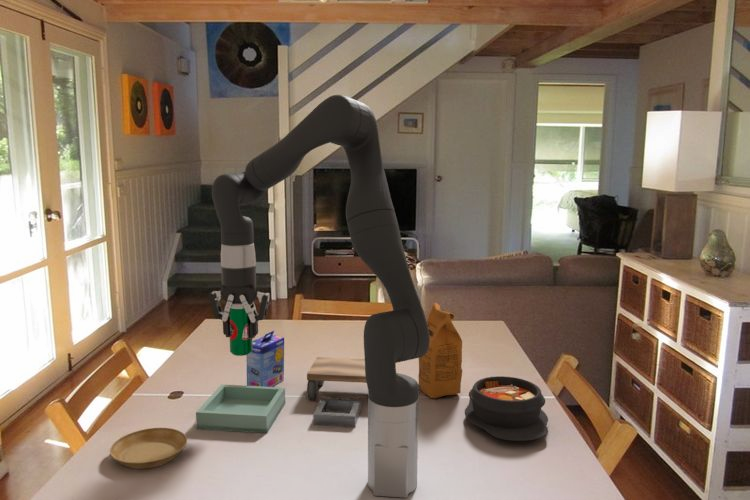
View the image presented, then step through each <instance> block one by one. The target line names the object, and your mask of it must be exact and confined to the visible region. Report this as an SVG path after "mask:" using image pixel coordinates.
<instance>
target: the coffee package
mask: <svg viewBox="0 0 750 500" xmlns="http://www.w3.org/2000/svg"><path fill="white" fill-rule="evenodd" d="M453 319H455V315H454V313H452V312H448V311H443V310H441V306H440V304H438V302H434V303H433V304H432V307H431V309H430V311H429V313H428V316H427V318H426V321H427V325H428V329H429V337H430V343H429V348H428V351H427V353H426V354H425V355H424V356H422V357H419V358H418V386H420V387H419V388H420V389H421V391H422V393H423V394H424V395H426V396H428V397H429V398H430V399H437V398H441V397H444V396H455V395H459V394H461V393H462V392H461V390H462V389H461V386H462V377H463V367H462V362H463V339H462V337H461V335H460V333H459V332H458V330H457V329H456V327H455V326H454V324H453V322H452V320H453Z"/></svg>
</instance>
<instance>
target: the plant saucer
mask: <svg viewBox="0 0 750 500" xmlns="http://www.w3.org/2000/svg"><path fill="white" fill-rule="evenodd" d="M187 442H188V438H187V436H186V434H185V433H184V432H182V431H181V430H179V429H175V428H171V427H151V428H149V427H148V428H144V429H139V430H136V431H132V432H130V433H127V434H125V435H123V436H121V437H120V438H118V439H117V440H115V441H114V442H113V443H112V445H110V449H109V453H110V456H111V457H112V458H113V459H114V460H115V461H116V462H118V463H119V464H121V465H123V466H125V467H127V468H130V469H136V470H140V469H141V470H143V469H144V470H145V469H151V468H156V467H160V466H163V465H165V464H168V463H169V462H171V461H172V460H173V459H175V458H176V457H177V456H178V455H179V454H180V453H181V452H182V451H183V450H184V448H185V446H186V445H187Z"/></svg>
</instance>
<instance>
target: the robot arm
mask: <svg viewBox="0 0 750 500" xmlns="http://www.w3.org/2000/svg"><path fill="white" fill-rule="evenodd" d="M326 144H334V145H337V146H341V147H343V150H344V152H345V155H346V157H347V162H348V166H349V169H350V185H349V190H348V193H347V199H346V205H345V218H346V224H347V229H348V233H349V237H350V240H351V245H352V247H353V249H354V251H355V252H356V254H357V256H358V257H359V258H360V259H361V261H363V263H364V264H365V265H366V266H367V267H368V269H370V271H371V272H372V273H373V274H374V275H375V276H376V277H377V279H378V280H379V281H380V282H381V283H382V285H383V287H384V289H385V290H386V292H387V293H386V294H387V295H388V298H389V301H390V304H391V306H392V310H389V311H383V312H382V311H381V312H376V313H372V314H371V315H370V316H368V318H367V319H366V321H365V324H364V329H363V351H364V353H363V354H364V359H365V376H366V382H367V383H366V386H367V392H368V393H367V395H368V396H367V399H368V400H367V401H368V402H367V408H368V409H367V486H368V487H369V489H371V491H372V492H373V496H376V497H377V496H378V497H389V498H390V497H391V498H403V499H404V498H405V499H406V498H408V497H409V495H410V494H411V493H413V492H414V491H415V490H416V488H417V486H418V459H419V457H418V455H419V451H418V447H419V402H420V399H419V397H420V396H419V395H420V387H419V386H420V385H419V382H418V381H417V380H416V379H415V378H414V377H411V376H409V375H407V374H403V373H399V372H397V368H396V363H401V362H405V361H410V360H416V359H419V357H422V356H424V355H425V354H426V353H427V351H428V348H429V343H430V337H429V329H428V325H427V318H426V315H425V312H424V309H423V306H422V303H421V300H420V297H419V295H418V293H417V292H418V291H417V289H416V286H415V284H414V281H413V278H412V274H411V271H410V268H409V264H408V261H407V257H406V252H405V249H404V245H403V241H402V235H401V232H400V226H399V223H398V218H397V216H396V212H395V211H396V210H395V207H394V205H393V201H392V198H391V197H392V196H391V192H390V189H389V184H388V181H387V177H386V171H385V169H384V164H383V163H384V162H383V157H382V152H381V143H380V135H379V129H378V124H377V118H376V116H375V114H374V111H373V110H372V109H371V108H370V107H369V105H366V104H365V103H363V102H361V101H359V100H356V99H354V98H352V97H349V96H347V95H343V94H335V95H334V94H333V95H331V96H329V97H327V98H326V99H324V100H323V101H321V102H320V103H319V104H317V106H316V107H314V108H313V109H312V110H311V111H310V113H308V114H307V115H306V116H305V117H304V118H303V119H302V120H301V121H300V122H299V123H298V124H297V125H296V126H295V127H294V128H293V129H292V130H290V132H288V133H287V134H286V135H285V136H284V137H283V138H281V139H280V140H279V141H277V143H274V145H272V146H271V147H269V148H268V149H266V150H264V151H263V152H261V153H260V154H258V155H256V157H254V158H252V159H251V160H250V161H248V163H247V164H246V166H245V169H244V171H243V172H242V171H241V172H237V173H224V174H220V175H218V176H216V178H215V179H214V180H213V181H214V182H213V183H212V187H211V198H212V202H213V205H214V209H215V212H216V216H217V218H218V221H219V224H220V225H219V226H220V237H221V239H220V240H221V241H220V242H221V246H220V247H221V248H220V249H221V250H220V267H221V269H220V270H221V273H220V274H221V289H220V290H218V291H217V290H213V291H212V292H210V293H208V298H209V304H210V307H211V309H212V314H213V317H214V319H216V320H217V319H219V320H221V322H222V333H223V335H224V336H225V338H230V335H229V311H230V307H231V306H232V304H233V303H242V304H243V306H244V308H245V311H246V313H247V314H248V316H249V318H250V321H251V322H250V338H252V339H254V338H255V337H257V335H258V334H259V321H263V320H264V319H265V318H266V316H267V312H268V308H269V305H270V300H271V293H270V292H261V291H259V289H258V288H257V270H256V269H257V258H256V249H255V243H254V242H255V241H254V239H255V238H254V237H255V235H254V234H255V233H254V222H253V220H252V218H250V217H249V216H245V215H243V214H242V212H241V209H240V208H241V207H240V206H245V205H249V204H253V203H254V202H256V201H258V200H259V199H261V198H262V196H263V195H265V193H267V191H269V190H270V188H273V187H274V186H276V185H278V184H279V183H281V182H282V181H284V180H285V179H288V178H289V177H290V176H292V174H294V173H295V172H296V171H297V169H298V167H299V166H300V165H301V163H302V161H303V160H304V157H306V156H307V155H308V154H309V153H310V152H311V151H313V150H315V149H317V148H320V147H322V146H324V145H326ZM221 298H223V300H224V301H225V302H226V303H225V306H224V310H223V308H222V304H221V301H220V300H221ZM256 298H258V302H259V303H260V306H259V310H258V312H257V308H256V305H255V302H254V301H255V300H256ZM250 305H251V307H250Z"/></svg>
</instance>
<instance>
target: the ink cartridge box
mask: <svg viewBox="0 0 750 500" xmlns="http://www.w3.org/2000/svg"><path fill="white" fill-rule="evenodd" d="M274 332H275V330H272V331H270V332H268V333H265V335H263V336H261V337H260V338H257V339H253V340H252V343H253V350H252V352H251V353H250V354H248V355H246V386H263V387H275V386H276V385H278V384H280V383H282V382H284V380H285V337H284V336H280V335H275V334H274Z"/></svg>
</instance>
